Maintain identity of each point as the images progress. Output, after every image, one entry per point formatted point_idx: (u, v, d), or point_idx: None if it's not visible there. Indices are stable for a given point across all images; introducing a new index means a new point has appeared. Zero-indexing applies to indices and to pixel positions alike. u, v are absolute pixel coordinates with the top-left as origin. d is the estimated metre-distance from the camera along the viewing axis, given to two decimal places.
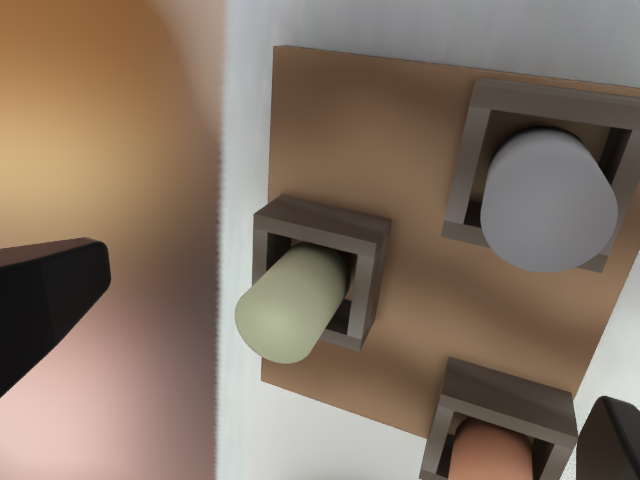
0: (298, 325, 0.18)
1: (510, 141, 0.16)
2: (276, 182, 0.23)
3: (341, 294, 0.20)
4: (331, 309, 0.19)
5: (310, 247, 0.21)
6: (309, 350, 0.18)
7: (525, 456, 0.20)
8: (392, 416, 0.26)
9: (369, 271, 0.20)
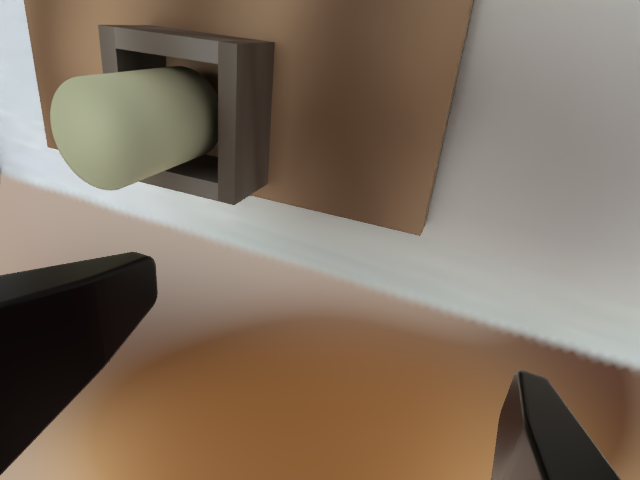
0: (79, 99, 0.14)
1: None
2: None
3: (155, 68, 0.16)
4: (128, 71, 0.15)
5: None
6: (104, 85, 0.13)
7: None
8: (446, 2, 0.15)
9: (129, 33, 0.16)
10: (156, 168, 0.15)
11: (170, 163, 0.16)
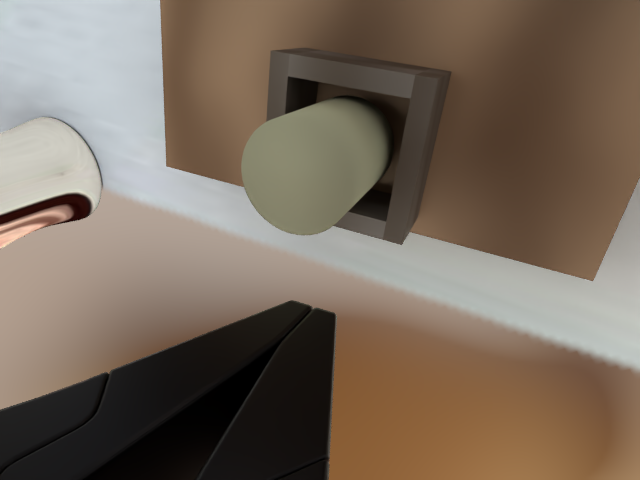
0: (283, 139, 0.13)
1: None
2: None
3: (336, 100, 0.15)
4: (320, 106, 0.14)
5: None
6: (319, 127, 0.12)
7: None
8: None
9: (307, 61, 0.15)
10: None
11: None
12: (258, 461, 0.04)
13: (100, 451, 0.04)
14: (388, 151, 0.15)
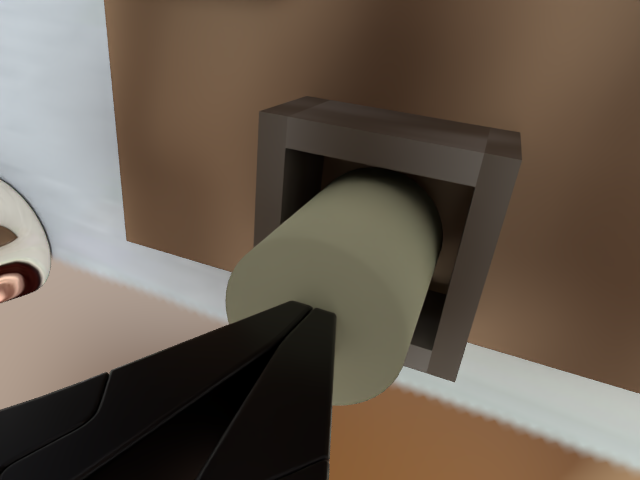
0: (292, 270, 0.08)
1: None
2: None
3: (364, 182, 0.10)
4: (345, 201, 0.09)
5: None
6: (352, 258, 0.07)
7: None
8: None
9: (315, 128, 0.10)
10: None
11: None
12: (258, 461, 0.04)
13: (100, 451, 0.04)
14: (438, 250, 0.11)
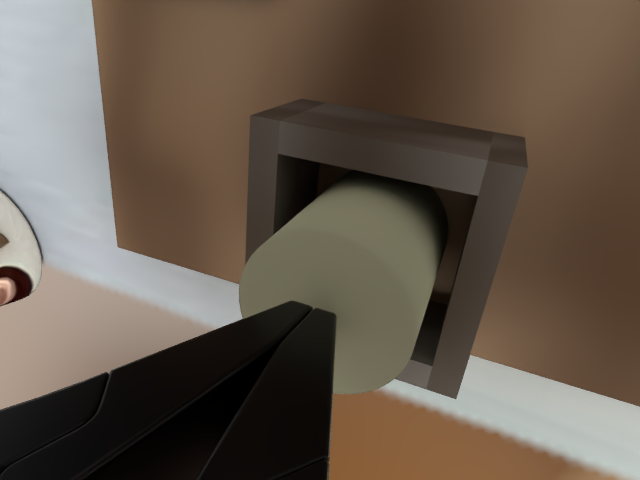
0: (305, 262, 0.08)
1: None
2: None
3: (372, 178, 0.10)
4: (354, 196, 0.09)
5: None
6: (364, 250, 0.08)
7: None
8: None
9: (308, 133, 0.10)
10: None
11: None
12: (258, 461, 0.04)
13: (100, 451, 0.04)
14: (444, 245, 0.11)
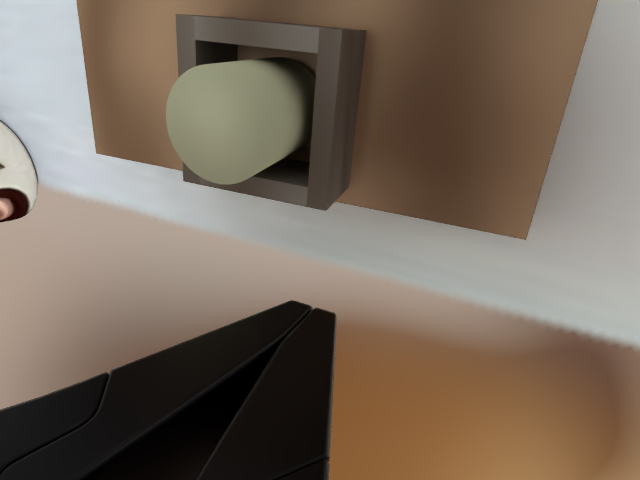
0: (202, 88, 0.13)
1: None
2: None
3: (261, 58, 0.15)
4: (242, 60, 0.14)
5: None
6: (233, 72, 0.13)
7: None
8: None
9: (212, 22, 0.15)
10: (273, 161, 0.14)
11: (282, 156, 0.15)
12: (258, 461, 0.04)
13: (100, 451, 0.04)
14: None
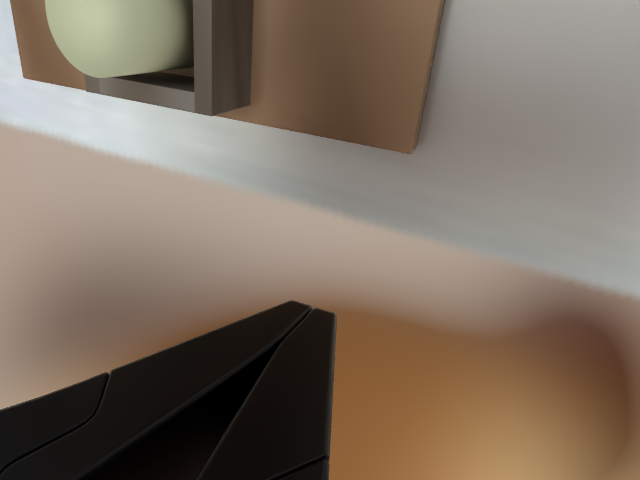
0: None
1: None
2: None
3: None
4: None
5: None
6: None
7: None
8: None
9: None
10: (151, 58, 0.15)
11: (165, 58, 0.16)
12: (258, 461, 0.04)
13: (100, 451, 0.04)
14: None
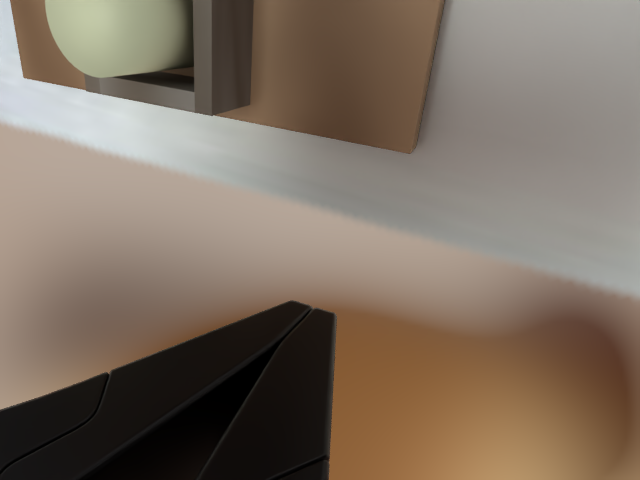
0: None
1: None
2: None
3: None
4: None
5: None
6: None
7: None
8: None
9: None
10: (151, 58, 0.15)
11: (165, 57, 0.16)
12: (258, 461, 0.04)
13: (100, 451, 0.04)
14: None
